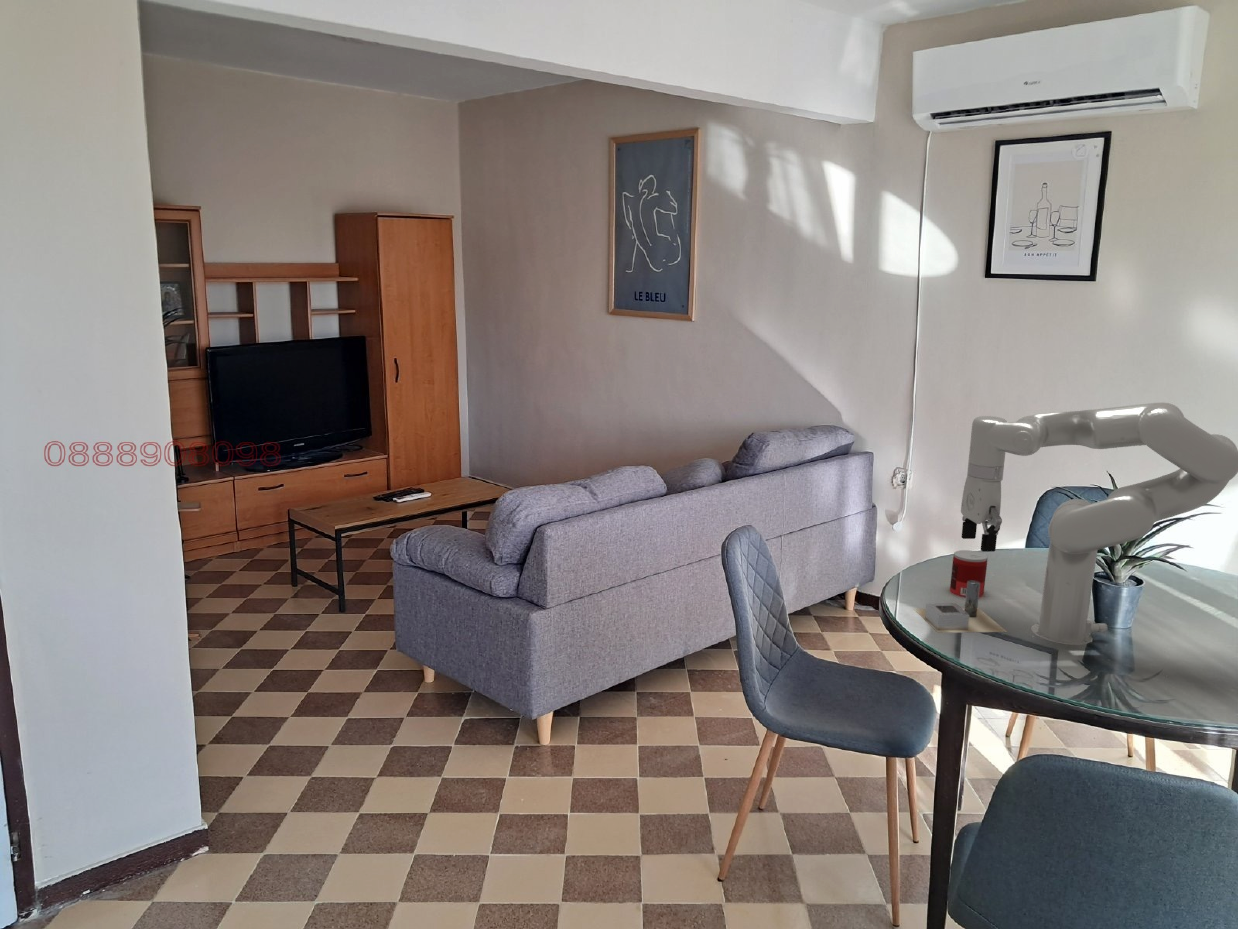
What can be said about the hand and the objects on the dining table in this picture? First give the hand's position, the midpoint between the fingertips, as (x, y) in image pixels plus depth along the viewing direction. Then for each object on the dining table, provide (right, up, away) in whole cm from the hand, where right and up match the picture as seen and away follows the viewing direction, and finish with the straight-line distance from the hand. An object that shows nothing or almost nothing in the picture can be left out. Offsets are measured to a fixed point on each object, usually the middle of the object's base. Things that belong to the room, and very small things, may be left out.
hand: (977, 544), depth 218 cm
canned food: (+4, -15, +19) cm, 25 cm away
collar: (-8, -18, -2) cm, 20 cm away
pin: (0, -17, +4) cm, 17 cm away
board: (-4, -19, +1) cm, 19 cm away
